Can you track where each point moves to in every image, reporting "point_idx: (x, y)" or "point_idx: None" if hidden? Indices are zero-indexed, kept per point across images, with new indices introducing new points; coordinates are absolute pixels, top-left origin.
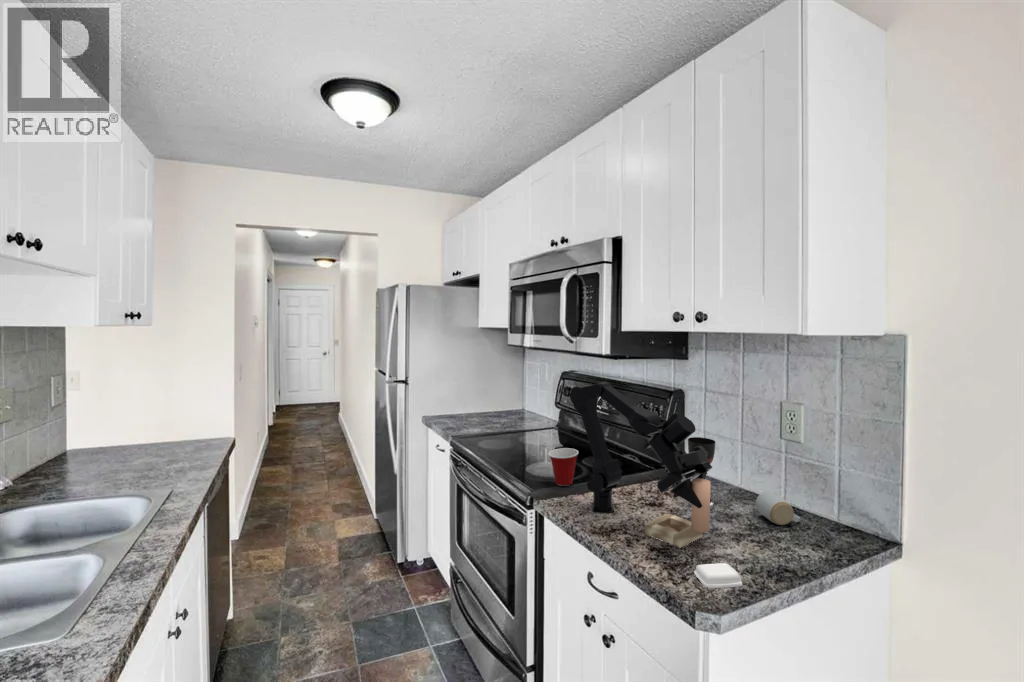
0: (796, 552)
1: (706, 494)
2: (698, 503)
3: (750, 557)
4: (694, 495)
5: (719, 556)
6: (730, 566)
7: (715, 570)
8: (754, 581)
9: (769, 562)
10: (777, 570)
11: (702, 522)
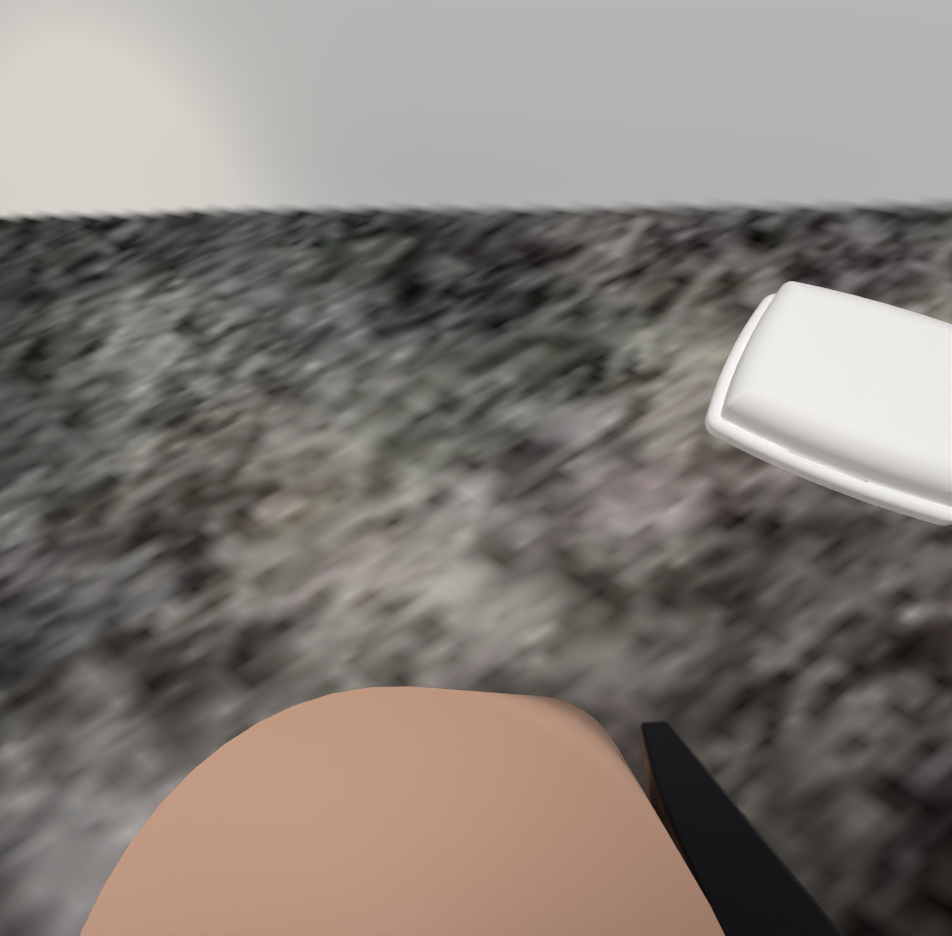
0: (180, 368)
1: (539, 705)
2: (708, 776)
3: (424, 459)
4: (794, 914)
5: (577, 573)
6: (762, 353)
7: (922, 359)
8: (663, 298)
9: (397, 374)
10: (449, 309)
11: (599, 725)
